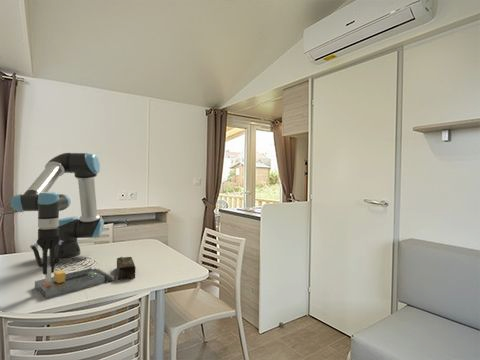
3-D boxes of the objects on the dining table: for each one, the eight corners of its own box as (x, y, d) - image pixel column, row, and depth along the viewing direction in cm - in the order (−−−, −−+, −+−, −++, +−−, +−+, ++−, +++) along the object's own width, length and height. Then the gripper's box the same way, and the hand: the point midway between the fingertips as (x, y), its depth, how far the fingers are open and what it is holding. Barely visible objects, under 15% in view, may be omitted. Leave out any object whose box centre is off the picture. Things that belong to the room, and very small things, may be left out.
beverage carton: (131, 266, 158) (132, 255, 158) (135, 278, 141) (136, 265, 141) (116, 268, 154) (116, 256, 154) (118, 281, 137) (118, 267, 137)
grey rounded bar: (92, 273, 145) (92, 269, 145) (100, 271, 148) (100, 267, 148) (107, 282, 134) (107, 277, 134) (115, 280, 137) (115, 275, 137)
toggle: (53, 280, 127) (53, 271, 127) (61, 278, 130) (61, 269, 130) (57, 283, 124) (57, 274, 124) (65, 281, 126) (65, 272, 126)
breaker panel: (34, 287, 127) (34, 281, 126) (90, 274, 145) (90, 267, 145) (45, 299, 116) (45, 291, 116) (104, 282, 134) (104, 276, 134)
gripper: (32, 231, 115) (32, 287, 116) (68, 226, 125) (67, 279, 126) (27, 228, 120) (27, 282, 121) (62, 224, 130) (62, 274, 131)
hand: (48, 280), depth 124 cm, fingers closed
